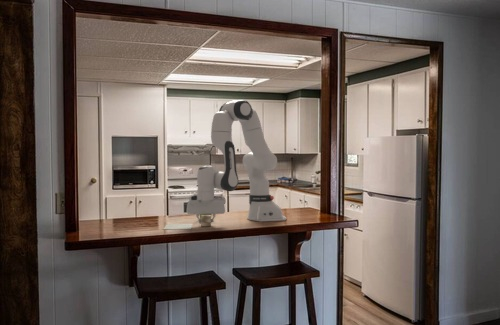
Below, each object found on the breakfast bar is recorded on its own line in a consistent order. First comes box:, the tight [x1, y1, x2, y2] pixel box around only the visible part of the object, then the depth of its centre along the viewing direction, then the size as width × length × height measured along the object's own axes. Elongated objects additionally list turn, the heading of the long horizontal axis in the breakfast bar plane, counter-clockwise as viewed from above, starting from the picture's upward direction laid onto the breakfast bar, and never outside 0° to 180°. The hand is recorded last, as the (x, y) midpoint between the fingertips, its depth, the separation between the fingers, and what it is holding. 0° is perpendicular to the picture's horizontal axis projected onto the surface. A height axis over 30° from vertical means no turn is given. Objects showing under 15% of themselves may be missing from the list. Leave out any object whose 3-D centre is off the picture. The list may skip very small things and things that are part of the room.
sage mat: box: [163, 223, 194, 230], centre depth 222 cm, size 14×14×1 cm
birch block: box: [200, 215, 212, 227], centre depth 225 cm, size 5×5×5 cm
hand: (206, 222), depth 225 cm, fingers closed on birch block, 5 cm apart
